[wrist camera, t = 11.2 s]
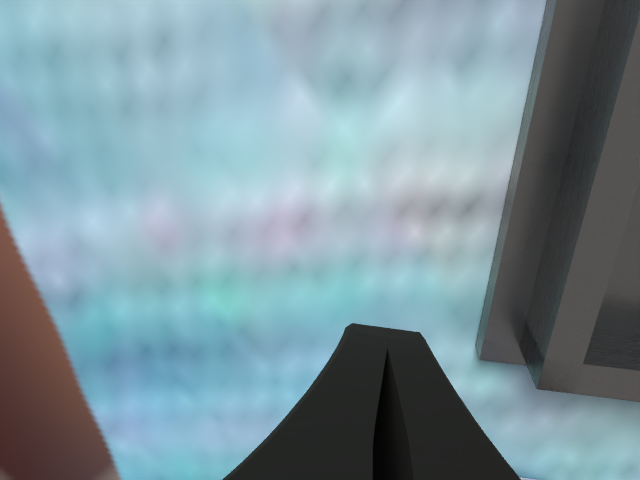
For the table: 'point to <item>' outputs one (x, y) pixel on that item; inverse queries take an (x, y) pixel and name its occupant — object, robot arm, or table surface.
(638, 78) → the rack
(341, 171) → the table surface
